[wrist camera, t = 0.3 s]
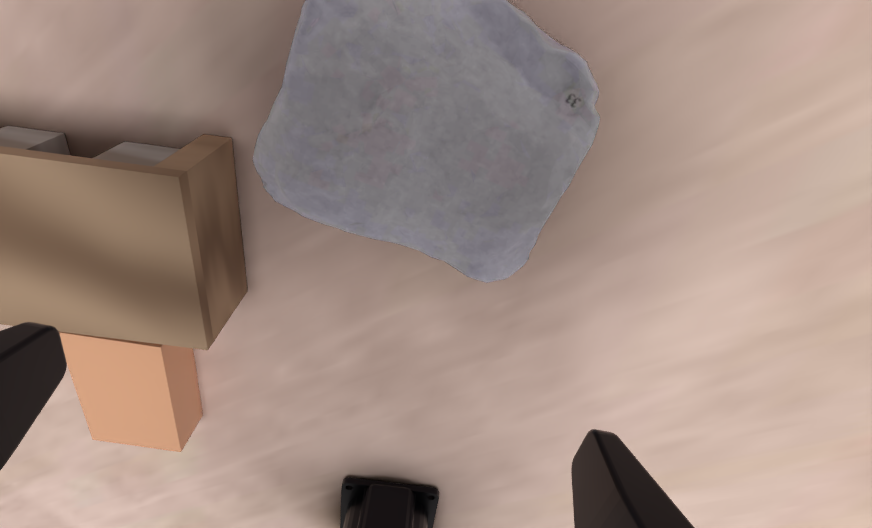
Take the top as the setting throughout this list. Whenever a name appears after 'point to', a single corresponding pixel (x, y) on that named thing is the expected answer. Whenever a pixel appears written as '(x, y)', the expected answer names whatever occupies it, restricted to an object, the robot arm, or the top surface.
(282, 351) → the top surface
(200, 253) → the shelf
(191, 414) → the peach cardboard box
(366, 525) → the robot arm
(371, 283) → the top surface
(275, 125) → the stone block
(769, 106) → the top surface
